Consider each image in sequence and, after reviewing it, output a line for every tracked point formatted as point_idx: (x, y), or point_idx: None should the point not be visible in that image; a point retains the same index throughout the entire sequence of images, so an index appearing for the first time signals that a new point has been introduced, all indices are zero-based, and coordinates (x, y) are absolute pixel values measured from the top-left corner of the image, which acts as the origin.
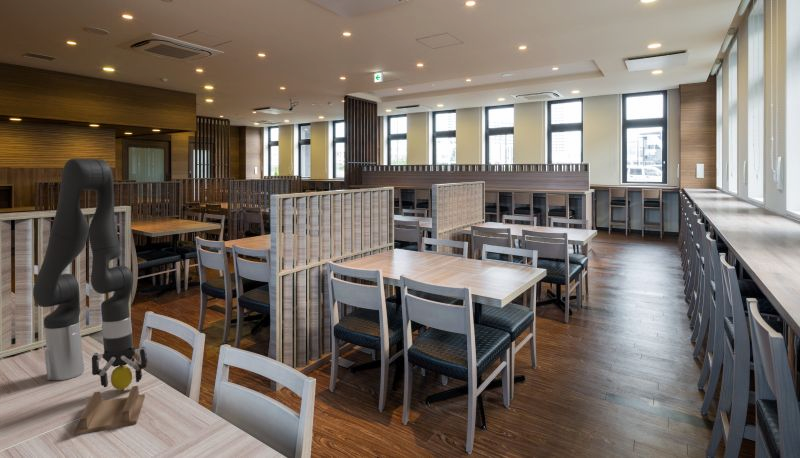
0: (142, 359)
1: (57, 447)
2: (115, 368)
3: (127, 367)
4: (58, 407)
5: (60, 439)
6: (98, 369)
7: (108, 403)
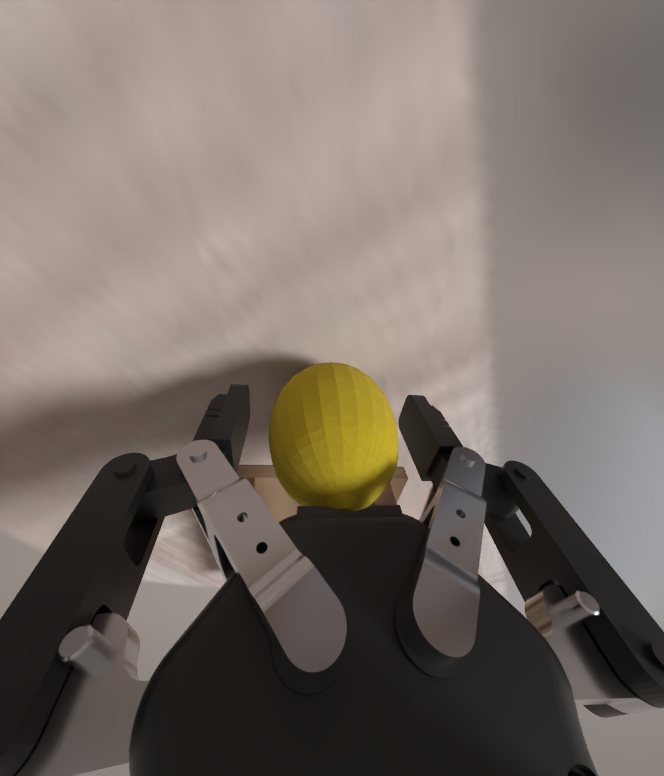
0: (519, 570)
1: (211, 581)
2: (301, 491)
3: (388, 481)
4: (62, 432)
5: (203, 566)
6: (153, 499)
7: (286, 496)
